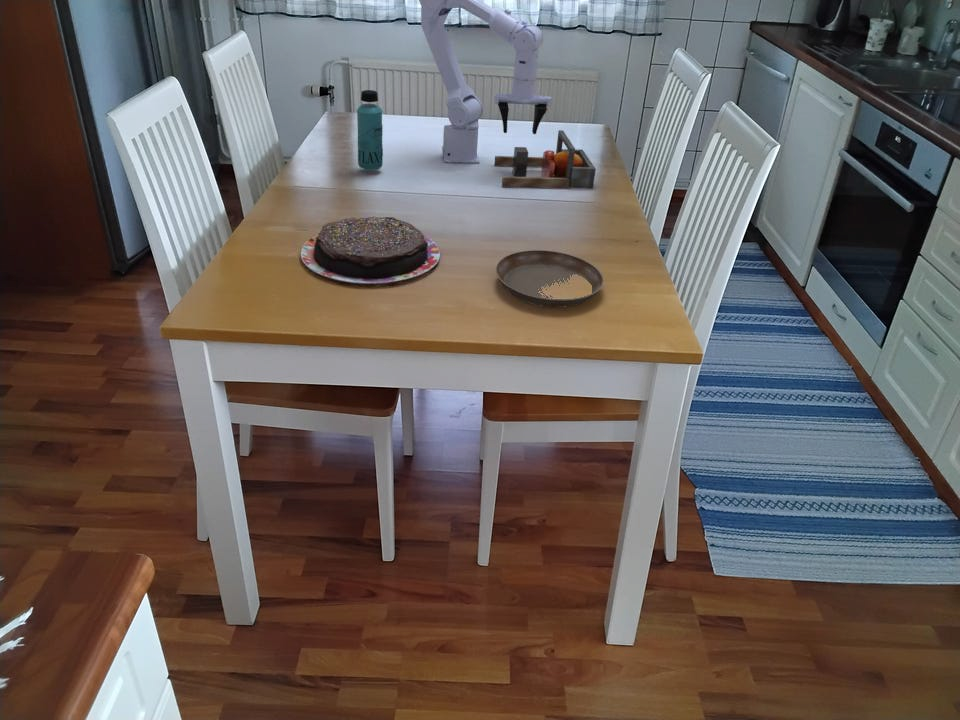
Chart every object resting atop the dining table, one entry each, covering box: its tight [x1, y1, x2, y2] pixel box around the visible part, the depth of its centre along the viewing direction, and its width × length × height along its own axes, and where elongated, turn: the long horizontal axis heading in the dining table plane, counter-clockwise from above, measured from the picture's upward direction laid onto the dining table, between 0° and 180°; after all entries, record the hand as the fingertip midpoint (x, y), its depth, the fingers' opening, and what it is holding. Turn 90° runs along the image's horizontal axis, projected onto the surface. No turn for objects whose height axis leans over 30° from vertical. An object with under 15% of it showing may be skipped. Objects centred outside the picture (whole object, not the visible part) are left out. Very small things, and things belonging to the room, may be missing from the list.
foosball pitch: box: [493, 129, 597, 189], centre depth 195 cm, size 24×17×10 cm
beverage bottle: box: [356, 89, 384, 171], centre depth 187 cm, size 6×7×20 cm
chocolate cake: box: [299, 216, 441, 288], centre depth 150 cm, size 28×28×7 cm
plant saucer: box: [495, 249, 605, 308], centre depth 144 cm, size 21×21×3 cm
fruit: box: [553, 151, 583, 178], centre depth 196 cm, size 8×8×8 cm
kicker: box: [511, 146, 556, 178], centre depth 195 cm, size 10×10×7 cm
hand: (519, 132), depth 196 cm, fingers open, 7 cm apart
